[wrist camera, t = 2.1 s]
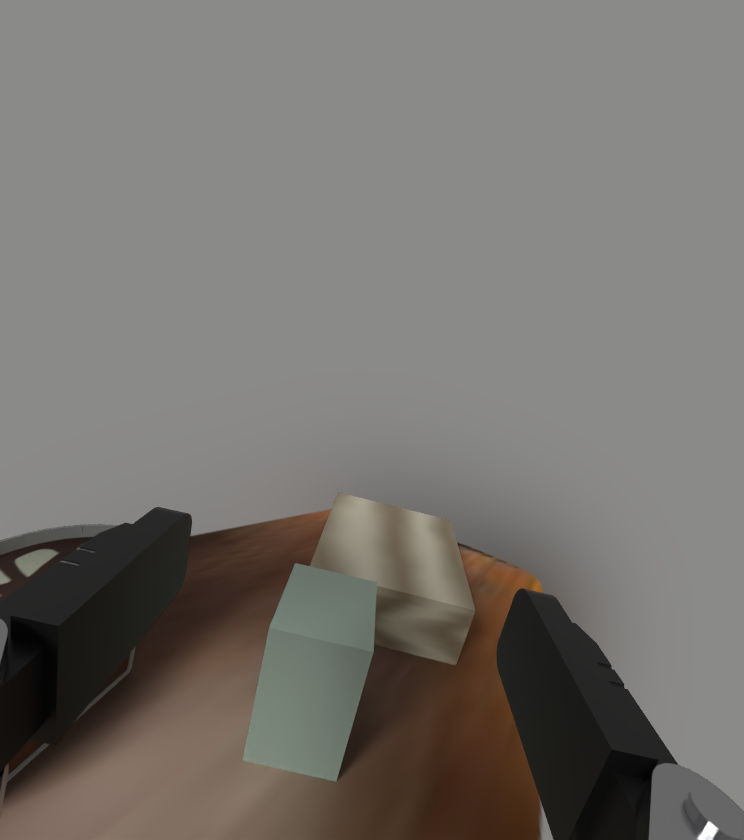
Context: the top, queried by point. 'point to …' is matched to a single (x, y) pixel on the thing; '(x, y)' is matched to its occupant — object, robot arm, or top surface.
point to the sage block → (313, 672)
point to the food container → (20, 563)
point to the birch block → (402, 574)
